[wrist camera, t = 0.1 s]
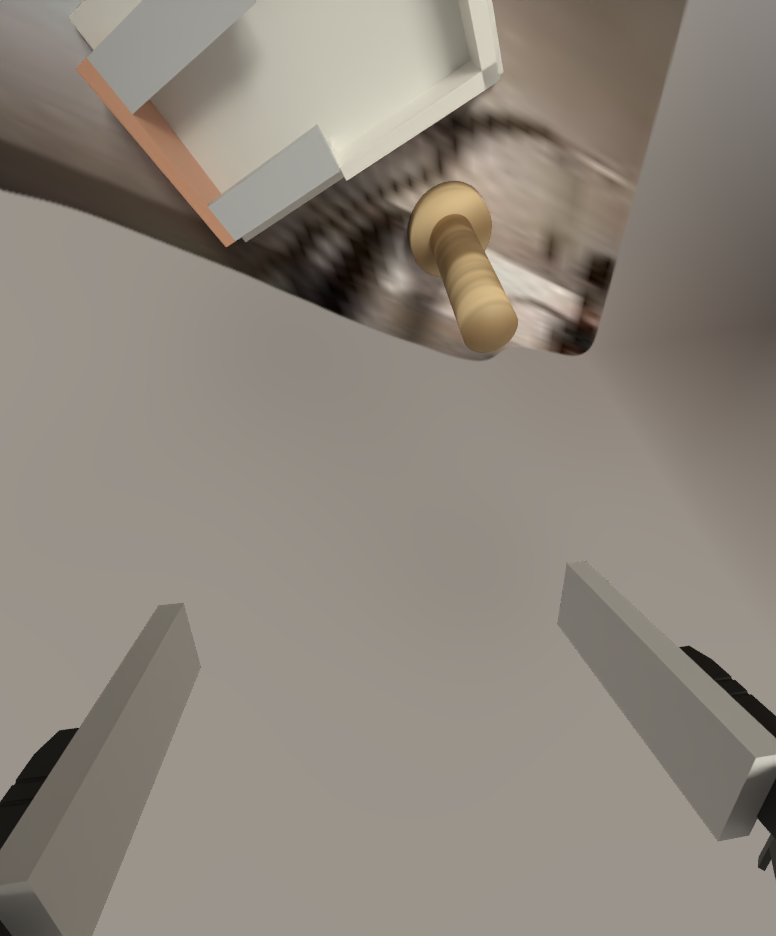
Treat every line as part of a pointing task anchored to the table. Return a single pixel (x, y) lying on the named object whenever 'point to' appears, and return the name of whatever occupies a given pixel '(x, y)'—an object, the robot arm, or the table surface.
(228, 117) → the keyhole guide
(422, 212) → the headed peg
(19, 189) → the table surface
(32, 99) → the table surface
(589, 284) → the table surface
